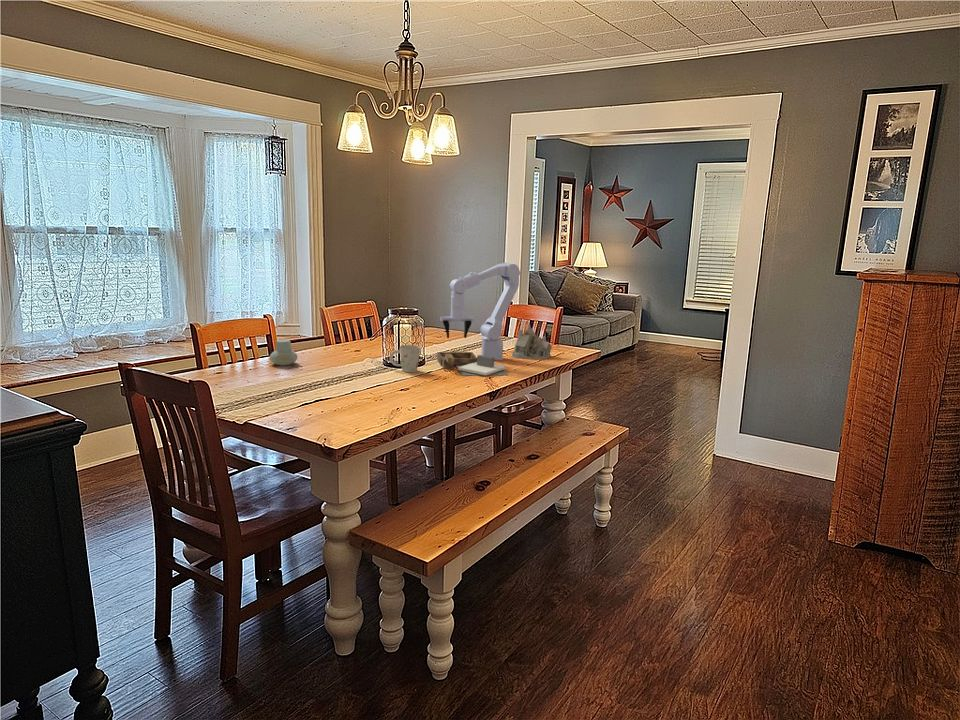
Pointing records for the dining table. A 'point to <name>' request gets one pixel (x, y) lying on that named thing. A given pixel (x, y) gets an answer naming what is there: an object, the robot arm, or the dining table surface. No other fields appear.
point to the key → (449, 358)
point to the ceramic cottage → (531, 346)
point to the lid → (483, 366)
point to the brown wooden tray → (456, 359)
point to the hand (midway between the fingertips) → (456, 337)
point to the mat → (479, 374)
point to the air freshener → (283, 353)
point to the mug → (407, 357)
